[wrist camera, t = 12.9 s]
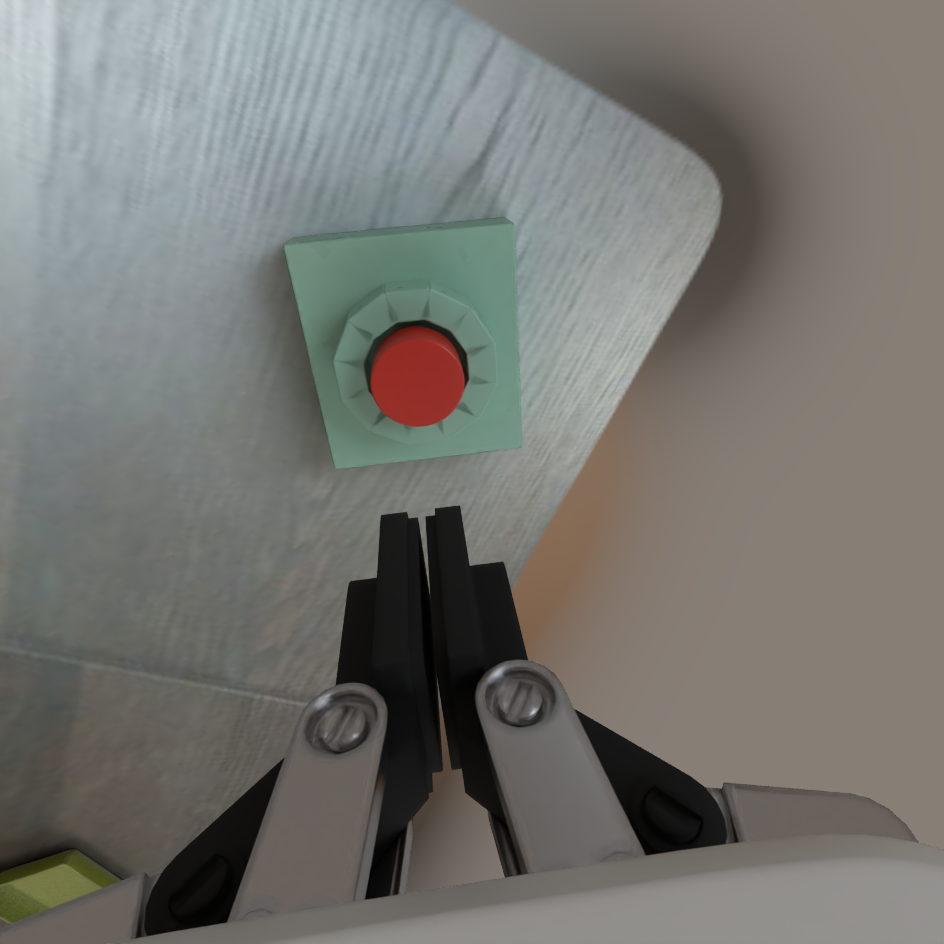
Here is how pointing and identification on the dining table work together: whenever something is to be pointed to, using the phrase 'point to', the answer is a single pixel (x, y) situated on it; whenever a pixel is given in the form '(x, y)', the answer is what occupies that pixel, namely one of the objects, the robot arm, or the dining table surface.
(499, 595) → the robot arm
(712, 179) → the dining table surface
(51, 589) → the dining table surface
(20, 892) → the green square tray
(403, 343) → the button
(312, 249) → the control block
